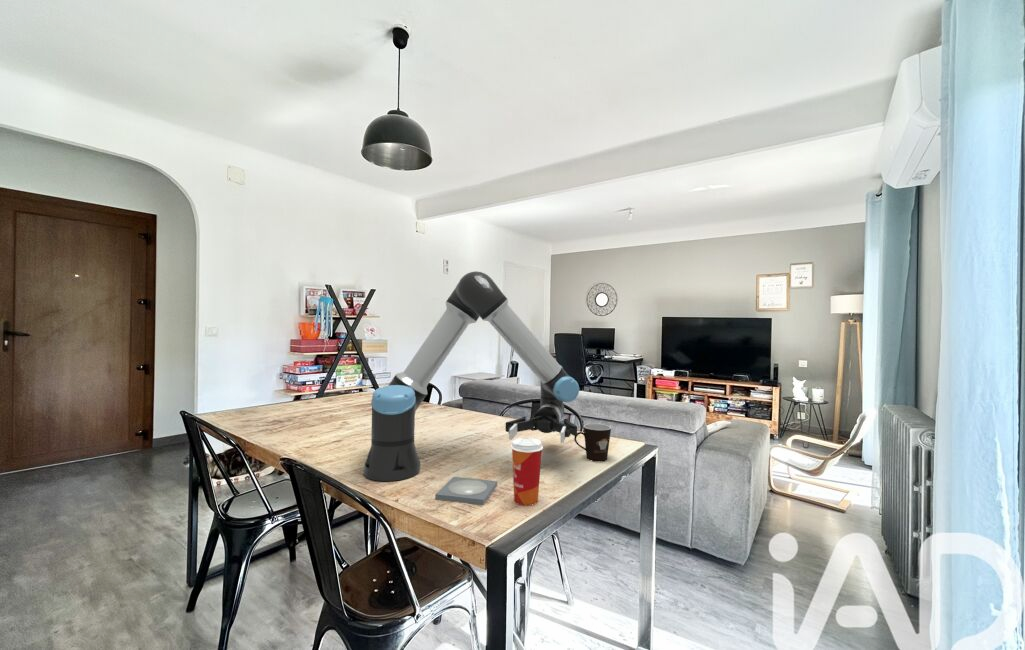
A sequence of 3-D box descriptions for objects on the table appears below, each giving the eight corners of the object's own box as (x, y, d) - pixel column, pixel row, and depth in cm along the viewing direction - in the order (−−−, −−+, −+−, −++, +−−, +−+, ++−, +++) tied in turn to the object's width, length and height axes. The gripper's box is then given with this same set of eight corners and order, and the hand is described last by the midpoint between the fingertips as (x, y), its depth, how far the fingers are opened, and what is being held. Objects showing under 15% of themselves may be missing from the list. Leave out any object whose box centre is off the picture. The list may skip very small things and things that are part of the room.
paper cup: (510, 493, 103) (511, 437, 103) (541, 494, 103) (542, 437, 103) (509, 507, 95) (510, 446, 95) (542, 508, 95) (543, 447, 95)
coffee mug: (608, 454, 136) (609, 424, 136) (612, 463, 127) (612, 430, 127) (572, 453, 137) (573, 422, 137) (574, 461, 128) (574, 429, 128)
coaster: (435, 499, 99) (435, 493, 99) (453, 481, 110) (453, 476, 110) (483, 505, 96) (483, 499, 96) (497, 485, 108) (497, 480, 108)
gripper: (588, 432, 126) (584, 453, 106) (508, 428, 132) (490, 447, 111) (588, 407, 126) (584, 424, 106) (508, 404, 132) (490, 419, 111)
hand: (535, 436), depth 108 cm, fingers open, 13 cm apart
